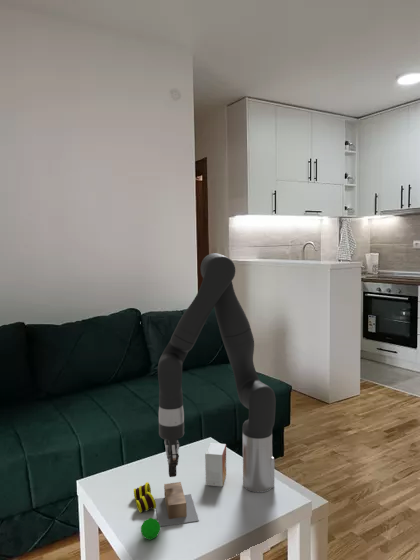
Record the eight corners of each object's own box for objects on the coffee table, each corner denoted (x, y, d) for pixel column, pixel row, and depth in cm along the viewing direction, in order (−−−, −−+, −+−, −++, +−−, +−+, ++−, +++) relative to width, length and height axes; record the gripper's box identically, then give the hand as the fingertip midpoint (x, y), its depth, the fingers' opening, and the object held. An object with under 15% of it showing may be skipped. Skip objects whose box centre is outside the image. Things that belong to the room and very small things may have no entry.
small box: (222, 487, 138) (222, 455, 137) (205, 485, 139) (204, 453, 138) (226, 474, 146) (226, 443, 145) (210, 472, 147) (209, 442, 146)
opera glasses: (135, 499, 134) (131, 484, 133) (151, 493, 135) (148, 478, 135) (140, 518, 125) (136, 502, 124) (157, 511, 126) (154, 495, 125)
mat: (190, 494, 134) (190, 494, 134) (198, 521, 122) (198, 520, 122) (154, 499, 132) (154, 499, 132) (159, 527, 119) (159, 526, 119)
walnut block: (180, 481, 134) (186, 502, 123) (180, 494, 134) (186, 516, 123) (164, 484, 133) (168, 505, 122) (164, 496, 133) (168, 519, 122)
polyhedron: (137, 539, 114) (136, 522, 114) (149, 528, 119) (148, 512, 118) (152, 546, 112) (152, 528, 112) (164, 534, 116) (163, 517, 116)
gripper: (187, 427, 125) (188, 486, 127) (180, 410, 138) (181, 463, 139) (160, 430, 123) (162, 489, 125) (156, 412, 136) (158, 466, 138)
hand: (172, 475), depth 132 cm, fingers closed
